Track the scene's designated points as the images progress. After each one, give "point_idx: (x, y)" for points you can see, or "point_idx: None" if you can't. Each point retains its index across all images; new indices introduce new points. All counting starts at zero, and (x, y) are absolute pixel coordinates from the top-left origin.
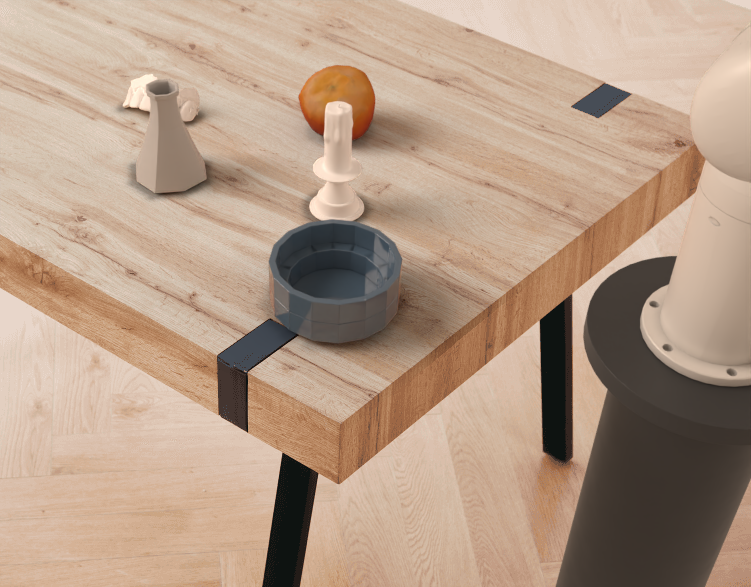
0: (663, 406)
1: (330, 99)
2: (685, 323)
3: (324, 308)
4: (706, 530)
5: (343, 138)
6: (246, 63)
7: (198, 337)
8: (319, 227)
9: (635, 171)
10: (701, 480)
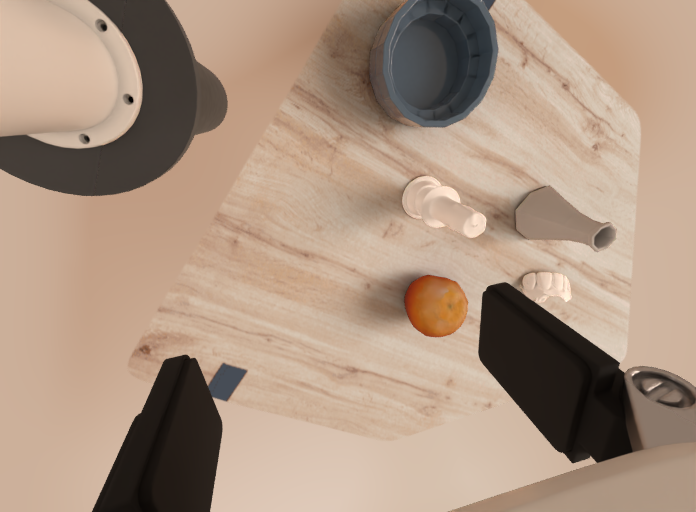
0: None
1: (449, 295)
2: (70, 17)
3: None
4: None
5: (456, 206)
6: None
7: (521, 5)
8: (454, 115)
9: (180, 303)
10: None
